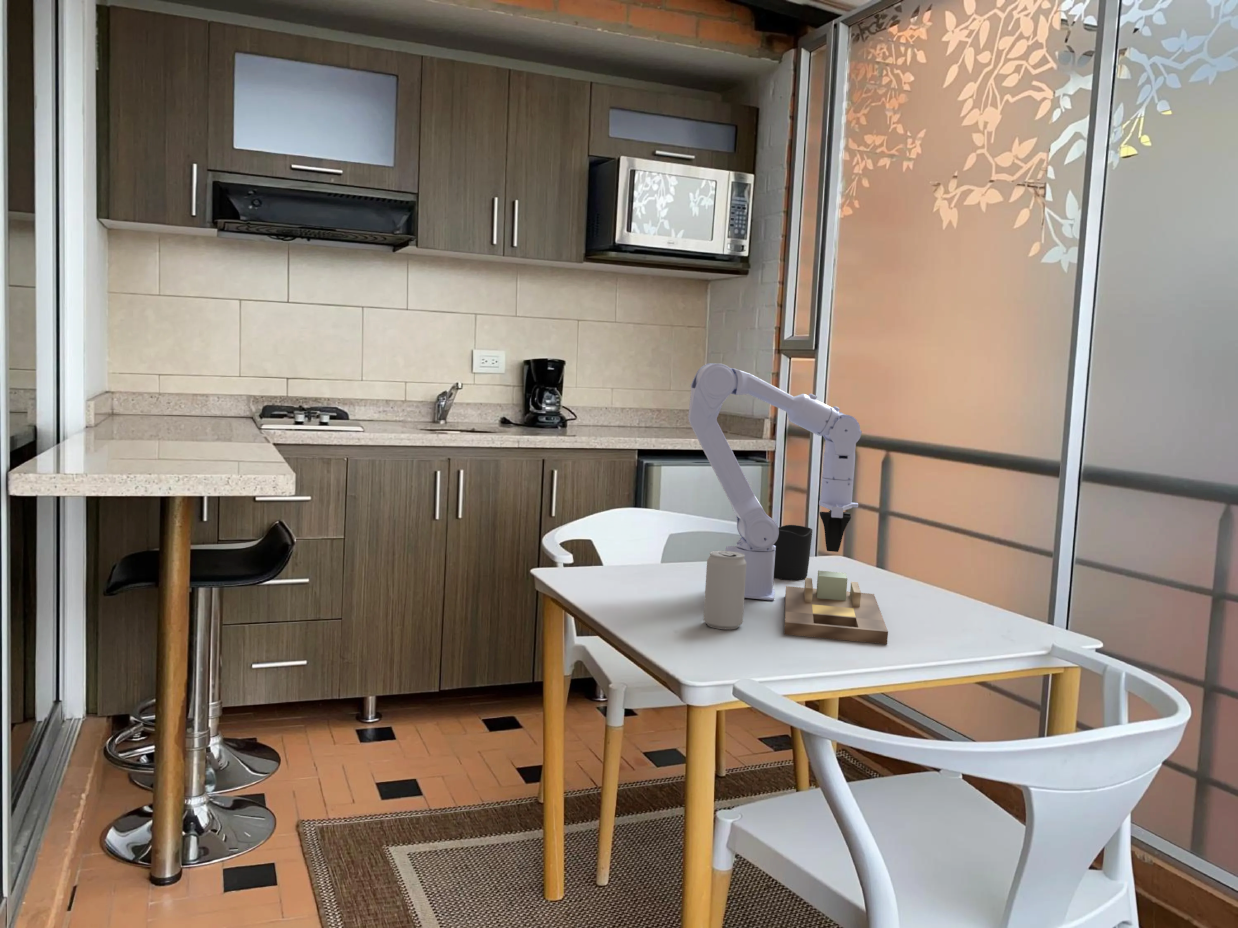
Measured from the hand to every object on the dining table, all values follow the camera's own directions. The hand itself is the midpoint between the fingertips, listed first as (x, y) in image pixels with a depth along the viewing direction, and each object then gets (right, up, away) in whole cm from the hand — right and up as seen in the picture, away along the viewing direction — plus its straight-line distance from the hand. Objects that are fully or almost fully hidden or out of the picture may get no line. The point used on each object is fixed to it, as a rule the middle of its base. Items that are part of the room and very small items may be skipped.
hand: (832, 550), depth 193 cm
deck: (-3, -10, -15) cm, 18 cm away
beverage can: (-23, -10, -24) cm, 35 cm away
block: (-2, -8, -7) cm, 10 cm away
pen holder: (-6, -7, +20) cm, 22 cm away
